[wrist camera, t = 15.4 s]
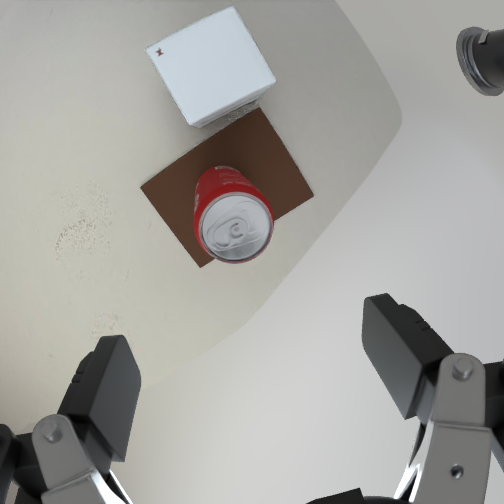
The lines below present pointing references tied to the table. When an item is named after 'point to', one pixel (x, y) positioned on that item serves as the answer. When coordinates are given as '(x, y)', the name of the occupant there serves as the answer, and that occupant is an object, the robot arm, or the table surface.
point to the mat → (234, 155)
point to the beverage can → (231, 216)
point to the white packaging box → (211, 67)
